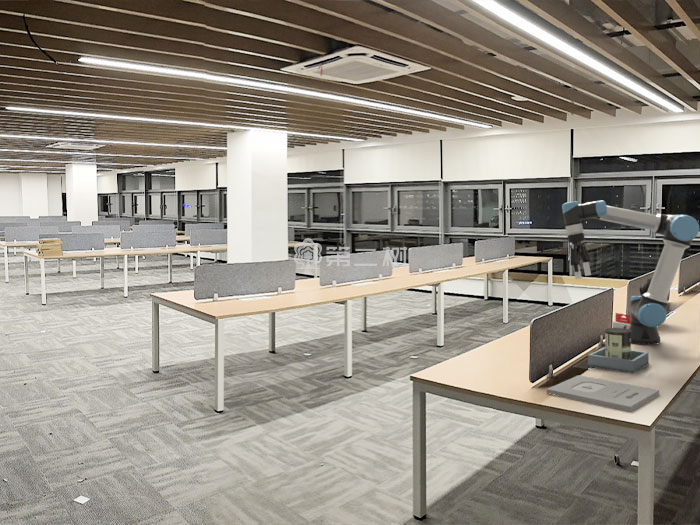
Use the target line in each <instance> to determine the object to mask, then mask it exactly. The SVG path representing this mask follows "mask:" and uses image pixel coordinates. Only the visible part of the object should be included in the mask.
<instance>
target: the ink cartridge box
mask: <svg viewBox="0 0 700 525" xmlns="http://www.w3.org/2000/svg"><path fill="white" fill-rule="evenodd" d="M612 328H622V329H628V330H629V328H630V314H625V313H618V312H615V321H612Z"/></svg>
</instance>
